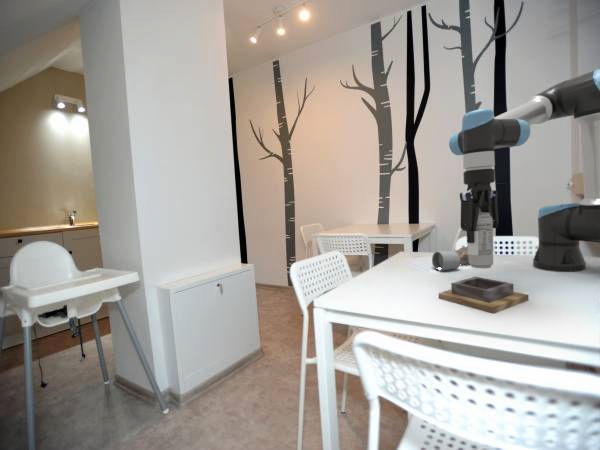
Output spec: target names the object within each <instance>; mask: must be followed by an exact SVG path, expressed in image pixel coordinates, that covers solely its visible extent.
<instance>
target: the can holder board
mask: <svg viewBox="0 0 600 450" xmlns="http://www.w3.org/2000/svg"><path fill="white" fill-rule="evenodd" d="M450 284H451V289H448V290H445V291H441V292H439V293H438V299H440V300H442V301H443V300H444V301H447V302H451V303H455V304H458V305H463V306H466V307H468V308H473V309H475V310H476V309H477V310H480V311H484V312H487V313H491V314H495V313H498V312H501V311H503V310H506V309H509V308H511V307H514V306H516V305H519V304H521V303H525V302H526V301H530V300H529V294H526V293H522V292H518V291H514V283H513V282H512V283H511V282H506V281H500V280H495V279H492V278H491V279H489V278H484V277H479V276H473V277H468V278H466V279H465V278H464V279H462V280H458V281H454V282H451V283H450Z"/></svg>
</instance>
